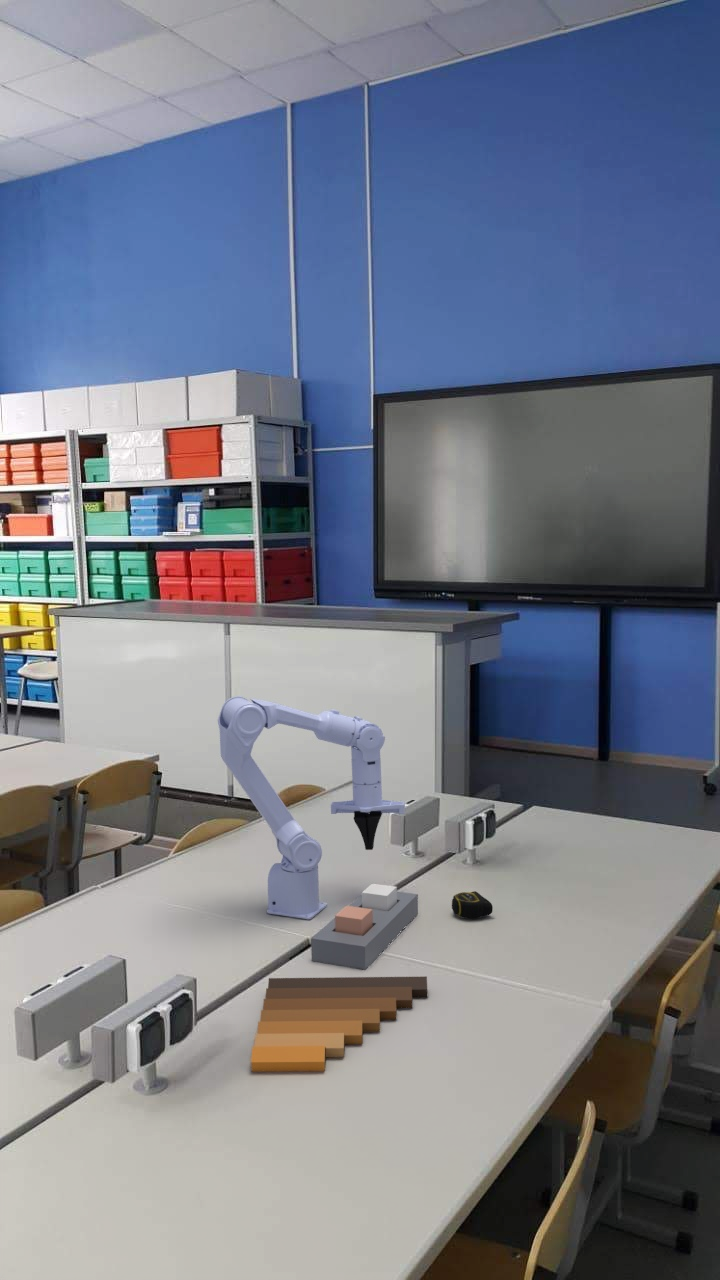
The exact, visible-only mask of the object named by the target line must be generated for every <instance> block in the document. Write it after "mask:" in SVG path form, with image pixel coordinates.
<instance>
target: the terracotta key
mask: <svg viewBox="0 0 720 1280" xmlns="http://www.w3.org/2000/svg"><path fill="white" fill-rule="evenodd" d="M334 918H335V932H340V933H347V934H353V935H360V936H364V935H365V934H366V933H367V932H368V931H369V930H370V929H371V928H372V927H373V909H367V908H359V907H352V906H349V905H345V907H343V908H342V909H341V910H340V911H339V912H337V914H335V915H334Z"/></svg>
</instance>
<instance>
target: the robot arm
mask: <svg viewBox="0 0 720 1280" xmlns="http://www.w3.org/2000/svg"><path fill="white" fill-rule="evenodd" d="M249 700H250V701H249ZM217 724H218V728H219V744H220V745H219V746H220V747H219V749H220V757H221V759H222V761H223V762H224V764H225V765H226V766H227V768H228V770H229V771H230V772H231V774H232V775H233V777H234V778H235V779H236V781H237V782H238V784H239V786H240V787H241V788H242V789H243V791H244V792H245V794H246V795H247V796H248V798H249V799H250V801H251V802H252V804H253V805H254V807H255V808H256V810H257V811H258V812H259V814H260V815H261V817H262V818H263V819H264V821H265V822H266V824H267V826H268V827H269V828H270V830H271V833H272V834H273V836H274V838H275V840H276V848H277V850H278V852H279V853H280V854H281V855H282V858H281V862H276V863H273V864H272V866H271V868H270V869H269V872H268V876H267V898H268V899H267V901H268V902H267V903H268V905H267V907H268V909H267V910H266V914H269V915H276V916H284V917H290V918H298V919H303V920H312V918H314V917H315V916H316V915H318V914H319V913H320V912H321V911H322V910H323V909H325V908H327V906H328V903H327V902H322V901H320V893H319V892H320V889H319V863H320V862H321V859H322V856H323V849H322V846H321V844H320V843H319V841H317V840H316V839H314V838H313V837H312V836H310V835H309V834H308V833H306V831H305V830H304V829H303V828H302V826H301V825H300V824H299V823H298V822H297V820H296V819H295V818H294V816H293V815H292V813H291V812H290V811H289V809H288V808H287V806H286V805H285V803H284V802H283V801H282V799H281V798H280V796H279V795H278V793H277V792H276V790H275V789H274V788H273V786H272V784H271V783H270V782H269V780H268V779H267V777H266V776H265V774H264V773H263V772H262V769H260V767H259V766H258V764H257V763H256V761H255V760H254V758H253V756H252V755H251V754H252V750H253V748H254V747H253V746H254V744H255V742H256V740H258V738H259V736H260V735H261V734H262V732H263V730H264V729H267V730H269V729H271V728H273V727H275V726H276V725H278V724H279V725H284V726H289V727H293V728H298V729H303V730H308V731H311V732H313V734H314V735H315V737H316V738H317V739H318V740H319V741H324V742H328V743H332V744H336V745H340V746H344V747H348V748H349V747H350V748H351V749H350V750H351V751H350V753H351V775H352V776H351V783H352V785H351V786H352V799H351V800H342V801H332V802H331V804H330V814H331V815H337V814H353V815H354V816H353V820H354V823H355V824H356V827H357V828H358V830H359V832H360V834H361V838H362V841H363V843H364V849H365V850H366V851H372V850H373V849H374V847H375V846H374V845H375V837H376V832H377V828H378V827H379V826H378V825H379V823H380V820H381V819H382V815H383V814H399V815H405V812H406V801H397V800H396V801H394V800H386V799H385V800H384V799H383V796H382V795H383V790H382V766H381V763H382V762H381V750H382V748H383V746H384V744H385V742H386V741H385V740H386V736H384V733H383V731H382V729H381V728H380V727H379V726H378V725H377V724H375V723H372V722H371V721H368V720H366V719H363V718H361V717H360V716H358V715H354V717H352V716H348V715H344V714H341V713H340V711H339V710H338V709H337V710H336V709H333V708H331V710H330V711H329V710H323V711H321V712H320V713H318V714H315V713H311V712H307V711H303V710H301V709H298V708H293V707H290V706H288V705H284V704H280V703H278V702H277V703H276V702H274V701H269V700H263V699H258V698H249V699H247V698H245V697H244V696H238V695H237V696H232V697H230V698H228V699H227V700H226V701H225V702H224V703H223V704H222V706H221V709H220V712H219V715H218V718H217Z"/></svg>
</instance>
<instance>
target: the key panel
mask: <svg viewBox="0 0 720 1280" xmlns="http://www.w3.org/2000/svg"><path fill="white" fill-rule="evenodd" d="M418 899H419V895H418V893H411V892H403V891H397V904H396V905H395V906H394V907H393V908H392V909H391V910H390V911H383V910H376V909H373V927H372V928H371V929H370V930H369V931H368V932H367V933H366V934H365V935H364V936H360V935H353V934H347V933H340V932H335V917H334V918H333V919H331V920H330V921H329V922H328V923H327V924H326V925H324V927H322V929H320V930H319V931H318V932H316V933H315V934H314V935H313V936H312V937H311V938H310V945H311V946H310V949H311V950H310V951H311V961H312V962H318V963H323V964H324V963H325V964H329V965H334V966H335V965H336V966H342V967H347V968H354V969H358V970H360V969H361V970H367V969H368V968H369V967H370V966H371V965H372V964H373V963H374V961H375V960H376V959H377V958H378V957H379V956H380V955H381V954H382V953H383V952H384V951H385V950H386V949H387V948H386V947H387V946H388V945H390V944H391V943H392V942H393V941H394V940H395V939H396V938H397V937H398V936H399V935H400V934H401V933H400V931H402V929H403V928H404V927H405V926H406V925H407V926H409V924H410V923H411V922H412V921H413V920H414V919H415V918H416V917H417V916H418V915H419V900H418ZM348 906H352V907H359V908H362V894H361V895H359V896H358V897H357V898H355V900H354V901H352V902H351V903H350V904H348ZM367 909H369V908H367ZM417 914H418V915H417ZM416 915H417V916H416ZM415 916H416V917H415ZM414 917H415V918H414ZM413 918H414V919H413ZM412 919H413V920H412ZM411 920H412V921H411ZM410 921H411V922H410ZM409 922H410V923H409ZM408 923H409V924H408ZM402 932H403V931H402ZM399 933H400V934H399ZM398 934H399V935H398ZM397 935H398V936H397ZM396 936H397V937H396ZM395 937H396V938H395ZM394 938H395V939H394ZM393 939H394V940H393ZM392 940H393V941H392ZM391 941H392V942H391ZM390 942H391V943H390ZM389 943H390V944H389ZM388 947H389V946H388ZM385 948H386V949H385ZM384 949H385V950H384ZM383 950H384V951H383ZM382 951H383V952H382ZM381 952H382V953H381ZM380 953H381V954H380ZM379 954H380V955H379ZM378 955H379V956H378ZM377 956H378V957H377ZM369 965H370V966H369ZM368 966H369V967H368Z"/></svg>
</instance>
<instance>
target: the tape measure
mask: <svg viewBox="0 0 720 1280" xmlns="http://www.w3.org/2000/svg"><path fill="white" fill-rule="evenodd" d="M451 909H452V912H453V914H455V916H457V917H460V918H463V919H471V920H473V919H474V920H475V919H479V918H480V919H481V918H482V917H486V916H487V917H488V916H489V915H492V913H493V909H494V908H493V903H491V901H489V899H487V898H486V897H484V896H483V895H481V894H480V893H479V892H477V891H471V892H469V891H468V892H467V891H466V892H465V891H464V892H459V893H456V894H455V895H453V897H452V899H451Z"/></svg>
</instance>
